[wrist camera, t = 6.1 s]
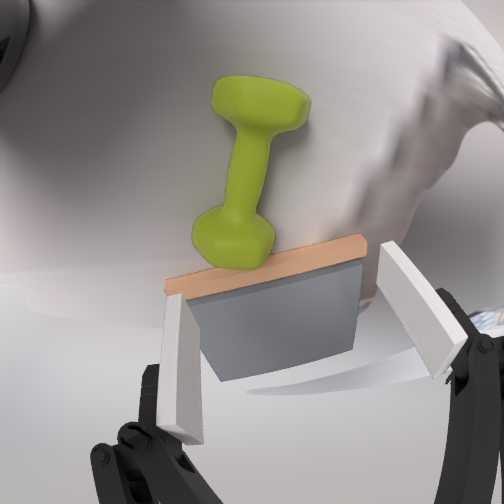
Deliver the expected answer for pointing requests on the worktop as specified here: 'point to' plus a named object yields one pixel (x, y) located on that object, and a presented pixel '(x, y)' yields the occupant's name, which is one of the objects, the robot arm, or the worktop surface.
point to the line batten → (269, 268)
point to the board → (280, 321)
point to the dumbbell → (247, 168)
